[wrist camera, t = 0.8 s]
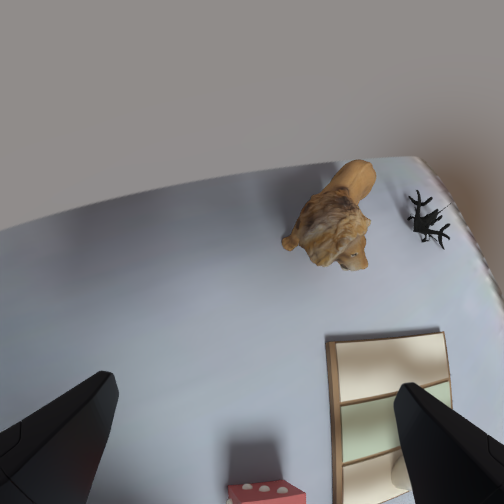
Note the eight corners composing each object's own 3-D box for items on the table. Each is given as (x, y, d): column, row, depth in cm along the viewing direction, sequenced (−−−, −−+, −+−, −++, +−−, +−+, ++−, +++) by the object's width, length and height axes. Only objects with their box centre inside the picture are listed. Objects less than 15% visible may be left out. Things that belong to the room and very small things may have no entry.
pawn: (420, 480, 18) (477, 486, 12) (390, 494, 17) (449, 506, 11) (420, 446, 20) (479, 446, 14) (391, 458, 19) (452, 463, 13)
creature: (410, 198, 36) (385, 205, 31) (438, 173, 32) (419, 175, 27) (443, 249, 34) (424, 266, 29) (474, 226, 30) (462, 240, 25)
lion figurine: (317, 310, 24) (386, 265, 16) (260, 277, 24) (308, 216, 16) (358, 192, 32) (406, 137, 24) (316, 166, 31) (356, 104, 24)
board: (448, 468, 20) (454, 468, 19) (332, 516, 16) (337, 519, 16) (440, 332, 26) (445, 330, 26) (325, 343, 23) (330, 341, 22)
